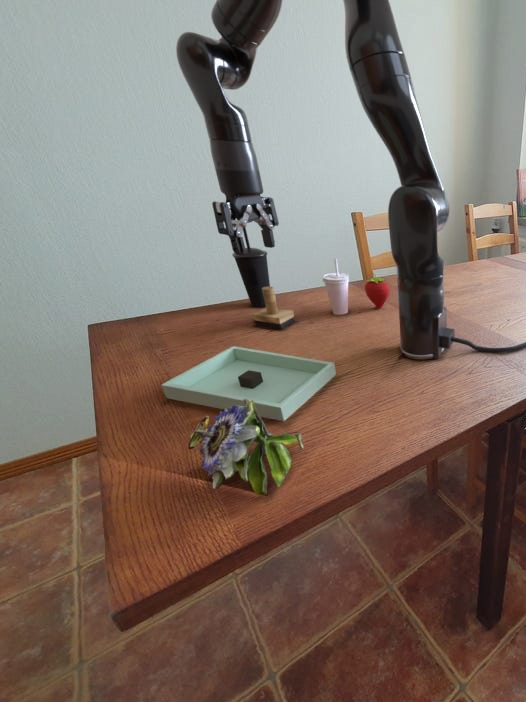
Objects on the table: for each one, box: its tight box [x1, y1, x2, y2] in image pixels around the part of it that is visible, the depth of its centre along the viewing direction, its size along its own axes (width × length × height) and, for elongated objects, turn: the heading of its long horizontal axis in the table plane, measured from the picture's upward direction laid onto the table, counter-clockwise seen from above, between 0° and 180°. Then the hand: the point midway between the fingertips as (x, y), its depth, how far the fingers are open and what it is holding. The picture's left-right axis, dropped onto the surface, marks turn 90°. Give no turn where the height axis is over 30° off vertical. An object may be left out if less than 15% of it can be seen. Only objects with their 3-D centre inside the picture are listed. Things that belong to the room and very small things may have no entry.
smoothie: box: [322, 258, 350, 316], centre depth 95 cm, size 6×6×14 cm
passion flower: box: [187, 399, 305, 497], centre depth 48 cm, size 11×11×12 cm
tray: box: [160, 346, 337, 422], centre depth 65 cm, size 22×15×3 cm
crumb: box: [238, 370, 263, 389], centre depth 65 cm, size 2×2×2 cm
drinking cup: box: [231, 227, 271, 308], centre depth 96 cm, size 8×8×20 cm
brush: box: [252, 285, 296, 331], centre depth 88 cm, size 7×5×9 cm
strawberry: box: [364, 272, 391, 309], centre depth 100 cm, size 6×8×10 cm
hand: (256, 250), depth 81 cm, fingers open, 8 cm apart
